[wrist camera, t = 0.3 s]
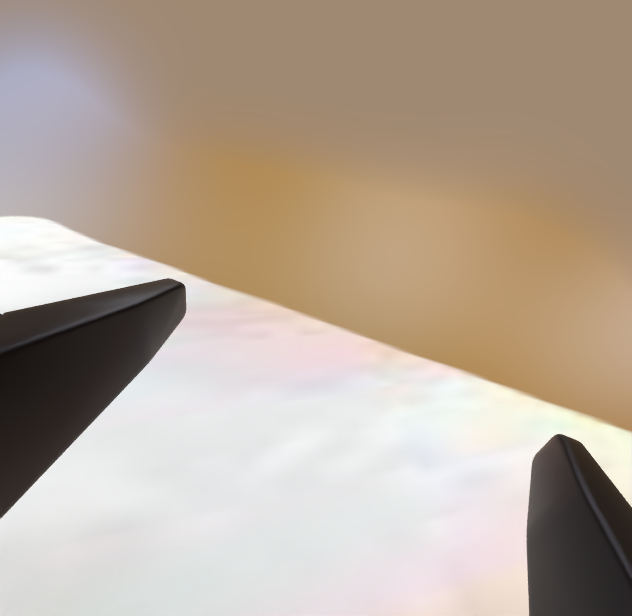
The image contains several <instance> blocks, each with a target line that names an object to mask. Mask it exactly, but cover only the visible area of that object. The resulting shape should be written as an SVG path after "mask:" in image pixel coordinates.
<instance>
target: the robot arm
mask: <svg viewBox="0 0 632 616" xmlns="http://www.w3.org/2000/svg"><path fill="white" fill-rule="evenodd" d="M185 313H186V289H185V286H184V284H182V283H181V282H178V281H176V280H173V279H169V278H168V279H162V280H158V281H153V282H148V283H143V284H139V285H134V286H129V287H124V288H120V289H115V290H110V291H106V292H101V293H96V294H91V295H87V296H82V297H77V298H72V299H68V300H63V301H58V302H53V303H49V304H44V305H39V306H34V307H30V308H25V309H20V310H15V311H11V312H6V313H4V314H3V315H2V314H0V518H2V517H3V516H4V515H5V514H6V512H7V511H8V510H9V509H10V508H11V507H12V506H13V505H14V504H15V503H16V502H17V501H18V500H19V499H20V498H21V497H22V496H23V495H24V494H25V492H26V491H27V490H28V489H29V488H30V487H31V486H32V485H33V484H34V483H35V482H36V481H37V480H38V479H39V478H40V477H41V476H42V475H43V474H44V473H45V471H46V470H47V469H48V468H49V467H50V466H51V465H52V464H53V463H54V462H55V461H56V460H57V459H58V458H59V457H60V456H61V455H62V454H63V453H64V452H65V450H66V449H67V448H68V447H69V446H70V445H71V444H72V443H73V442H74V441H75V440H76V439H77V438H78V437H79V436H80V435H81V434H82V433H83V432H84V430H85V429H86V428H87V427H88V426H89V425H90V424H91V423H92V422H93V421H94V420H95V419H96V418H97V417H98V416H99V415H100V414H101V413H102V412H103V411H104V409H105V408H106V407H107V406H108V405H109V404H110V403H111V402H112V401H113V400H114V399H115V398H116V397H117V396H118V395H119V394H120V393H121V392H122V391H123V390H124V388H125V387H126V386H127V385H128V384H129V383H130V382H131V381H132V380H133V379H134V378H135V377H136V376H137V375H138V374H139V373H140V372H141V371H142V370H143V368H144V367H145V366H146V365H147V364H148V363H149V362H150V361H151V359H152V358H153V357H154V356H155V354H156V353H157V352H158V350H159V349H160V348H161V347H162V345H163V344H164V343H165V341H166V340H167V339H168V337H169V336H170V335H171V333H172V332H173V331H174V330H175V328H176V327H177V326H178V324H179V323H180V322H181V320H182V319H183V318H184V316H185ZM527 566H528V593H529V616H632V507H631V506H630V505H629V503H628V502H627V501H626V500H625V498H624V497H623V496H622V494H621V493H620V492H619V490H618V489H617V488H616V487H615V485H614V484H613V483H612V481H611V480H610V479H609V478H608V476H607V475H606V474H605V472H604V471H603V470H602V469H601V467H600V466H599V465H598V463H597V462H596V461H595V460H594V458H593V457H592V456H591V454H590V453H589V452H588V451H587V449H586V448H585V447H584V446H583V444H582V443H581V442H579V441H577V440H575V439H572V438H570V437H567V436H565V435H562V434H557V435H555V436H554V437H552V438H551V439H550V440H549V441H548V442H547V443H546V444H545V446H544V447H543V448H542V449H541V450H540V451H539V452H538V453H537V454H536V455H535V457H534V459H533V462H532V470H531V482H530V495H529V507H528V519H527Z"/></svg>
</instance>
